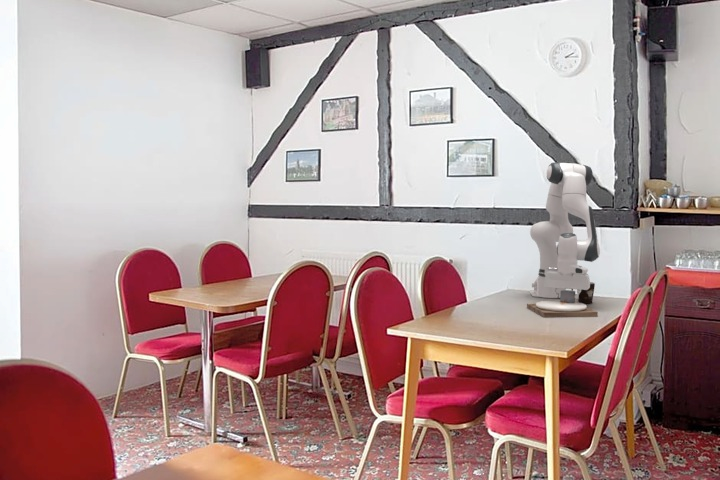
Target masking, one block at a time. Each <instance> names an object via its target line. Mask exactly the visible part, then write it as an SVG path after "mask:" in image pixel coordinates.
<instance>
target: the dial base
mask: <svg viewBox="0 0 720 480" xmlns="http://www.w3.org/2000/svg"><path fill="white" fill-rule="evenodd" d="M526 309H527V310H530V311H531V312H533V313H536V314H537V315H539V316H540V317H543V318H584V317H585V318H589V317H593V318H594V317H595V318H596V317H598V316H599V314H598V313H599V312H598V311H596V310H593V309H592V308H590V307H587V309H585V310H582V311H552V310H545V309H540V308H538V307H536V303H532V302H531V303H526Z"/></svg>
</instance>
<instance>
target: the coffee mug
mask: <svg viewBox="0 0 720 480" xmlns="http://www.w3.org/2000/svg"><path fill="white" fill-rule="evenodd" d="M595 285H596V282H592V281H590V288H589V289H588V290H581V292H580V294H579V297H578V299H577V302H579V303H583V304H585V305H592V304H593V302H594V301H593V300H594V292H595ZM571 291H574V289H571ZM576 292H577V291H576ZM577 293H578V292H577ZM575 295H577V294H576V293H575Z"/></svg>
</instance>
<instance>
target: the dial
mask: <svg viewBox="0 0 720 480" xmlns="http://www.w3.org/2000/svg"><path fill="white" fill-rule="evenodd" d="M575 294H576V291H575V290H573V291H572V289H568V290H567V289H566V290H562V291H561V292H560V298H559V299H560V300H541V301H537V302H536V303H535V304H536V307H538V308H540V309H545V310H552V311H582V310H585V309H587V308H588V306H587V305H588V304H583V303H579V302H578V301H576V299H574V298H575Z"/></svg>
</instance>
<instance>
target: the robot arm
mask: <svg viewBox="0 0 720 480" xmlns="http://www.w3.org/2000/svg"><path fill="white" fill-rule="evenodd" d="M593 174H594V173H593V170H592V168H591V167H590V166H588V165H585V164H581V163H580V164H579V163H575V162H571V163H570V162H558V161H557V162H551V163H550V164H549V165H548V167H547V170H546V178H547V180H548V182H549V183H550V185H549V189H548V194H547V199H546V203H545V210H546V212H548V213H549V220H545V221H543V220H542V221H539V222H536V223H534V224H533V225H532V226H531V227H530V231H529V234H530V237H531V239H532V240H533V241H534V242H535V244H536V245H537V248H538V251H539V269H538V277H537V278H536V279H535V281H534V282H532V283H531V287H532V288H533V290H529V294H530V295H531V296H532V297H537V298H544V299H545V298H546V299H560V292H561V291H562V290H567V289H568V290H572V289H573V290H576V292H578V293H577V294H576V295H575V298H574V299H575V300H578V297H579V294H580V292H581V290H588V289H589V288H590V282H591V280H590V276H589V274H588V271H589V270H588V268H587V267H584V266H582V265H579V264H578V261H585V262H590V263H594V261H596V260H598V258H600V253H601V252H600V251H601V249H600V245H599V240H598V235H597V233H598V232H597V225H596V219H595V212H594V209H593V208H592V206H590V205H589V203H588V201H587V186H589V185H590V184H591V183H592V181H593V180H592V179H593ZM569 214H570V215H573V216H575V217H577V218H580V219H582V220H583V221H584V222H585V225H586V226H585V227H586V233H587V234H586V235H587V239H578V237H577V234H575V233H574V227H573V225H572V224H571V223H570V220H569Z"/></svg>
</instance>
